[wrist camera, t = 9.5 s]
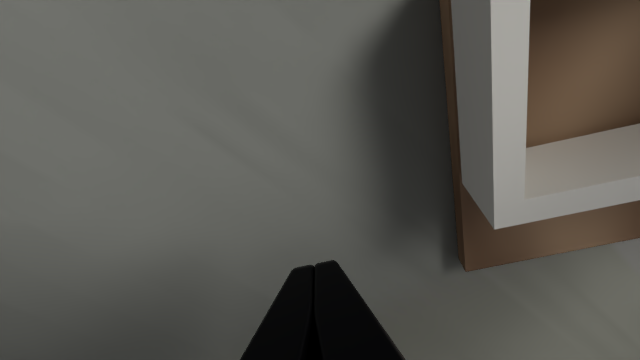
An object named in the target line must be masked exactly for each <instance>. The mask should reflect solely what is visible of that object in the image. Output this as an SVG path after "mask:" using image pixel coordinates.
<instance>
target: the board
mask: <svg viewBox="0 0 640 360" xmlns="http://www.w3.org/2000/svg"><path fill="white" fill-rule="evenodd" d="M439 1H440V14H441V28H442V41H443V55H444V68H445V82H446V95H447V108H448V122H449V135H450V149H451V162H452V176H453V189H454V202H455V216H456V229H457V243H458V256H459V260H460V262H461V264H462V266H463V268H464V270H465V272H467V271H472V270H478V269H483V268H488V267H493V266H498V265H503V264H508V263H513V262H518V261H523V260H529V259H534V258H539V257H544V256H549V255H554V254H559V253H564V252H569V251H574V250H580V249H585V248H590V247H595V246H600V245H605V244H610V243H615V242H620V241H625V240H631V239H636V238H640V200H638V201H633V202H628V203H623V204H618V205H613V206H608V207H603V208H598V209H594V210H589V211H584V212H579V213H574V214H569V215H564V216H559V217H554V218H549V219H544V220H539V221H534V222H530V223H525V224H520V225H515V226H510V227H505V228H500V229H495V230H494V229H493V227H492V226H491V224H490V223H489V221H488V220H487V218H486V217H485V215H484V214H483V213H482V211H481V210H480V208H479V207H478V205H477V204H476V202H475V201H474V200H473V198H472V197H471V195H470V194H469V192H468V191H467V189H466V188H465V187H464V185H463V184H462V172H461V156H460V140H459V124H458V107H457V91H456V75H455V58H454V42H453V26H452V9H451V0H439ZM639 123H640V0H530V27H529V61H528V95H527V128H526V148H529V147H533V146H538V145H543V144H547V143H552V142H556V141H561V140H566V139H570V138H575V137H579V136H584V135H589V134H593V133H598V132H602V131H607V130H612V129H616V128H621V127H625V126H630V125H635V124H639Z"/></svg>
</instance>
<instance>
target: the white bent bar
mask: <svg viewBox="0 0 640 360" xmlns="http://www.w3.org/2000/svg"><path fill="white" fill-rule="evenodd" d="M451 9H452V26H453V42H454V58H455V75H456V91H457V107H458V124H459V140H460V156H461V172H462V184H463V185H464V187H465V188H466V189H467V191H468V192H469V194H470V195H471V197H472V198H473V200H474V201H475V202H476V204H477V205H478V207H479V208H480V210H481V211H482V213H483V214H484V215H485V217H486V218H487V220H488V221H489V223H490V224H491V226H492V227H493V229H494V230H495V229H500V228H505V227H510V226H515V225H520V224H525V223H530V222H534V221H539V220H544V219H549V218H554V217H559V216H564V215H569V214H574V213H579V212H584V211H589V210H594V209H598V208H603V207H608V206H613V205H618V204H623V203H628V202H633V201H638V200H640V123H639V124H635V125H630V126H625V127H621V128H616V129H612V130H607V131H602V132H598V133H593V134H589V135H584V136H579V137H575V138H570V139H566V140H561V141H556V142H552V143H547V144H543V145H538V146H533V147H529V148H526V128H527V95H528V61H529V27H530V0H451Z"/></svg>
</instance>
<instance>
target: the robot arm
mask: <svg viewBox="0 0 640 360" xmlns="http://www.w3.org/2000/svg"><path fill="white" fill-rule="evenodd" d="M240 360H405V358H404V357H403V355H402V354H401V353H400V351H399V350H398V348H397V347H396V346H395V344H394V343H393V341H392V340H391V338H390V337H389V336H388V334H387V333H386V331H385V330H384V328H383V327H382V326H381V324H380V323H379V321H378V320H377V318H376V317H375V316H374V314H373V313H372V311H371V310H370V308H369V307H368V306H367V304H366V303H365V301H364V300H363V298H362V297H361V296H360V294H359V293H358V291H357V290H356V288H355V287H354V286H353V284H352V283H351V281H350V280H349V278H348V277H347V276H346V274H345V273H344V271H343V270H342V269H341V267H340V266H339V264H338V263H337V262H336V261H334V260H331V261H326V262H321V263H317V264H316V265H315V267H314V266H313V265H307V266H302V267H297V268H294V269H293V270H292V271H291V272H290V274H289V276H288V278H287V279H286V281H285V283H284V285H283V286H282V288H281V290H280V291H279V293H278V295H277V297H276V298H275V300H274V302H273V304H272V305H271V307H270V309H269V310H268V312H267V314H266V316H265V317H264V319H263V321H262V323H261V324H260V326H259V328H258V329H257V331H256V333H255V335H254V336H253V338H252V340H251V342H250V343H249V345H248V347H247V348H246V350H245V352H244V354H243V355H242V357H241V359H240Z"/></svg>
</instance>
